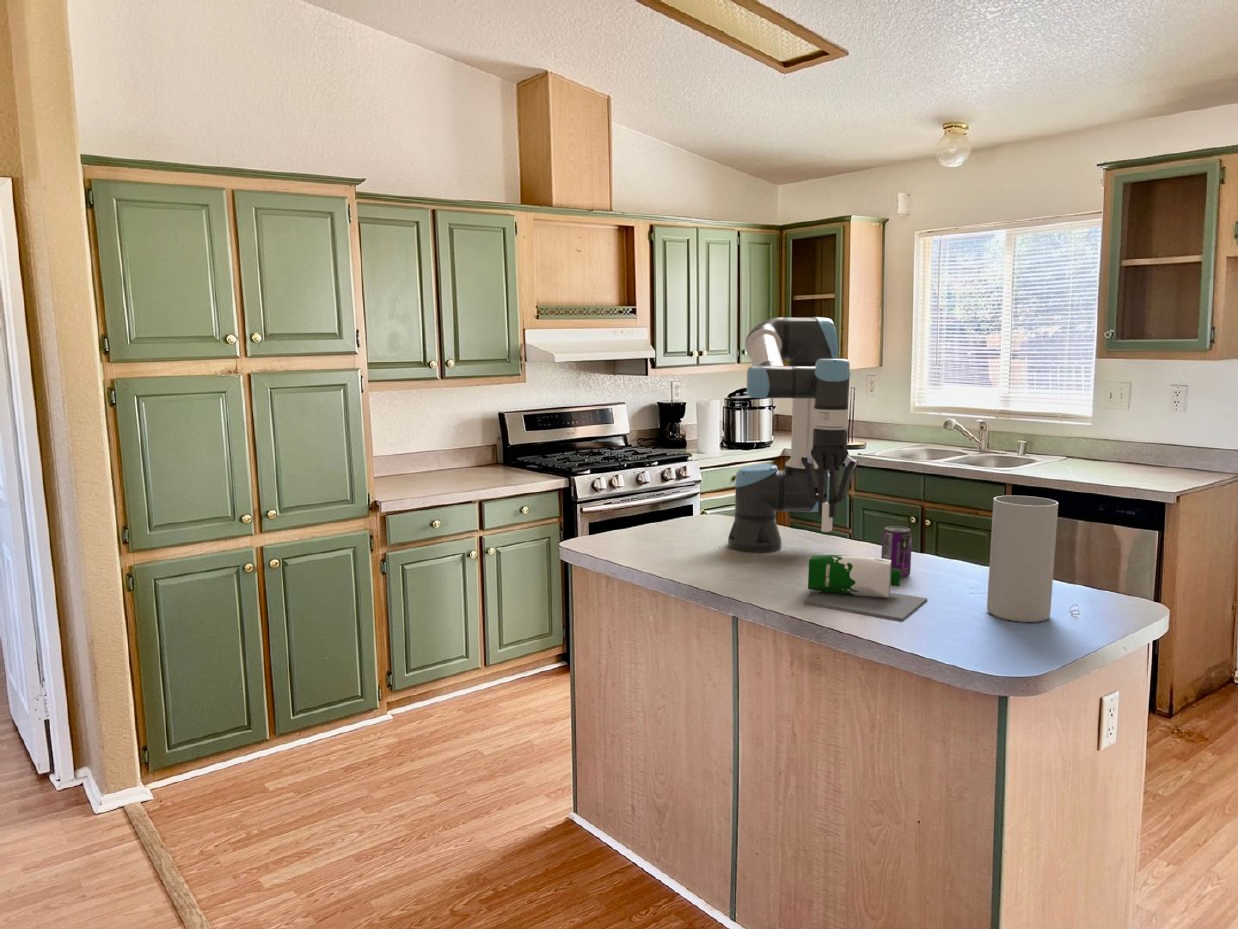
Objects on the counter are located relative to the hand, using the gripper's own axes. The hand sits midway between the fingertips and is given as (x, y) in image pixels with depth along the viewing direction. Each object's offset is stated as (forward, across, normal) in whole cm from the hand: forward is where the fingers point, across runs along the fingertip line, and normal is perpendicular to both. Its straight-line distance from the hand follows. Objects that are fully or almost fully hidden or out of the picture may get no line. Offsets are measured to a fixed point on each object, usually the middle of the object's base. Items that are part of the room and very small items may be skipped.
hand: (826, 530), depth 204 cm
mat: (+16, +9, +1) cm, 18 cm away
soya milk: (+11, -4, +1) cm, 12 cm away
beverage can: (+16, +7, +28) cm, 33 cm away
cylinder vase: (+16, +39, +11) cm, 44 cm away
